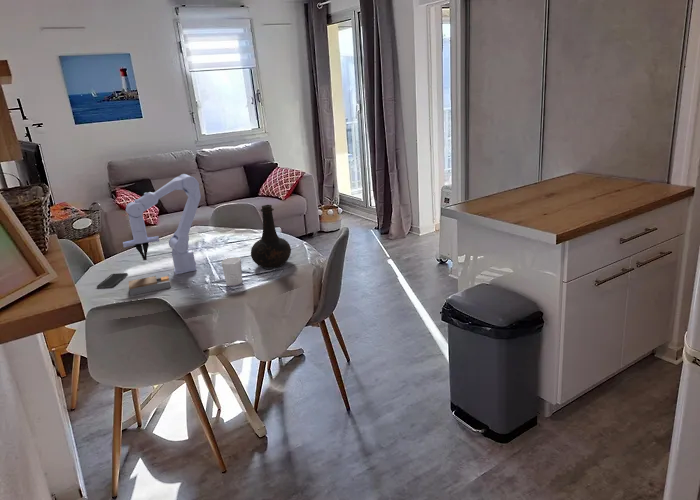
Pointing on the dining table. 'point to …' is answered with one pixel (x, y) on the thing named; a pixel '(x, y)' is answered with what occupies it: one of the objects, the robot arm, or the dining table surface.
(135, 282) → the lid
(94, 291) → the dining table surface
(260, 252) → the glass bottle
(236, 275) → the white cup
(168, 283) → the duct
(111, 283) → the phone
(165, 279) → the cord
